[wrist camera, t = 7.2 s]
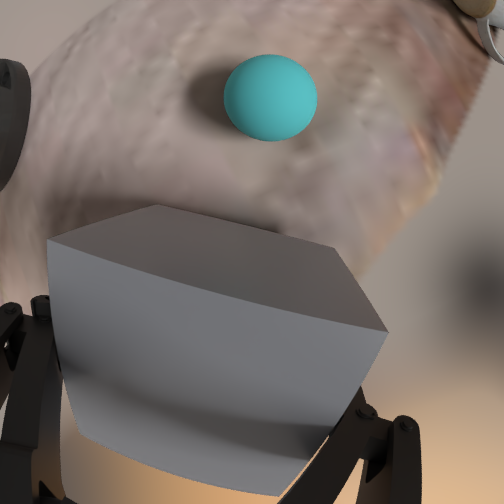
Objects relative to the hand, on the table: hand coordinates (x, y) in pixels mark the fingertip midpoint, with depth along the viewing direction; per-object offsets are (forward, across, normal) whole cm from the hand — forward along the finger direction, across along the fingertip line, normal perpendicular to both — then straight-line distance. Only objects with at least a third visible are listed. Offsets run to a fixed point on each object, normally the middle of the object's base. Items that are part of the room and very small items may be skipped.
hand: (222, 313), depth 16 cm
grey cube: (+1, 0, 0) cm, 1 cm away
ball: (+1, 0, +12) cm, 12 cm away
